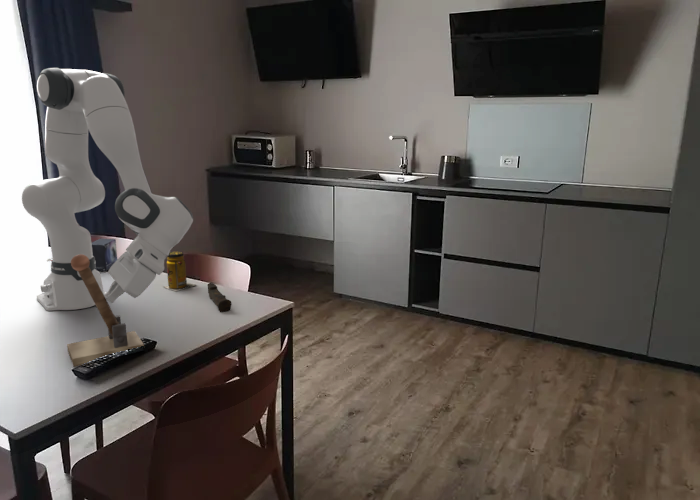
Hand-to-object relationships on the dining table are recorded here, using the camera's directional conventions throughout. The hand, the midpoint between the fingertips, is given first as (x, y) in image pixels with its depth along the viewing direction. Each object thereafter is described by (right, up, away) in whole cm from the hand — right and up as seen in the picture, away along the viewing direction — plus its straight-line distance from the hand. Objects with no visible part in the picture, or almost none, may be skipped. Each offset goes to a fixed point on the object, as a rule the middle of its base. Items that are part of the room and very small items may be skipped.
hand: (108, 300), depth 136 cm
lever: (+1, -10, +3) cm, 10 cm away
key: (-58, +7, +82) cm, 101 cm away
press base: (-1, -13, +2) cm, 13 cm away
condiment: (+1, 0, +54) cm, 54 cm away
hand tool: (+17, -5, +38) cm, 42 cm away
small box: (-34, +5, +75) cm, 83 cm away
